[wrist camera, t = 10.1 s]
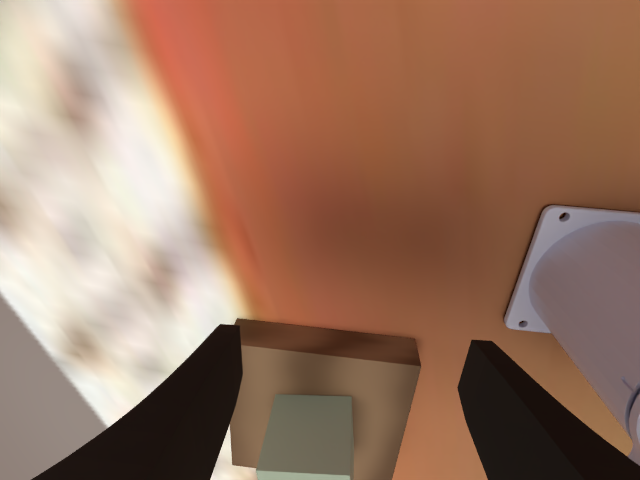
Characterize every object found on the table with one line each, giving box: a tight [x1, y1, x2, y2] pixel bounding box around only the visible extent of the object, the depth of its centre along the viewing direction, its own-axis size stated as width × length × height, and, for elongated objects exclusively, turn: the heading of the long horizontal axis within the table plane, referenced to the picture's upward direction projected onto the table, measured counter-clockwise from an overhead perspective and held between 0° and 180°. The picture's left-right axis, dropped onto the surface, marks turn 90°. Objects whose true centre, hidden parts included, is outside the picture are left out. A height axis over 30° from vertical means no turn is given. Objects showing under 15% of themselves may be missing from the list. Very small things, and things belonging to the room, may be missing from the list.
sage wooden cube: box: [256, 394, 354, 480], centre depth 22 cm, size 5×5×5 cm
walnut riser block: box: [230, 318, 421, 480], centre depth 26 cm, size 12×12×3 cm
